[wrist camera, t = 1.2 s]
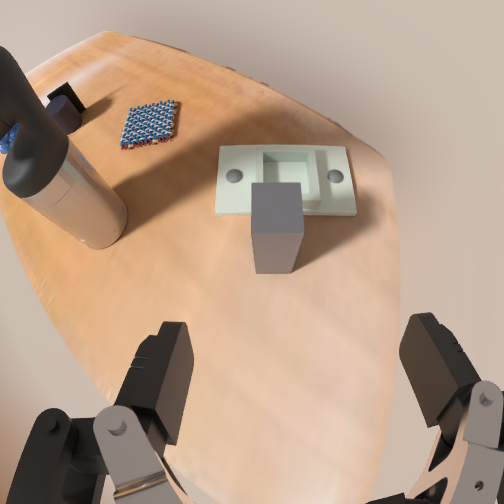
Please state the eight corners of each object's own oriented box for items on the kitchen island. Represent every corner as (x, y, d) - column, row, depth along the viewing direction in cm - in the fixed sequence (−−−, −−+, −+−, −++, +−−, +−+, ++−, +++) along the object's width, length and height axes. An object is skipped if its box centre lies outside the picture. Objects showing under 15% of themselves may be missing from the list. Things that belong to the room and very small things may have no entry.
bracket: (215, 216, 40) (211, 204, 37) (220, 149, 44) (217, 135, 41) (355, 215, 39) (362, 204, 36) (343, 150, 43) (348, 136, 40)
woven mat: (120, 154, 46) (116, 147, 44) (130, 114, 49) (127, 108, 47) (173, 144, 46) (170, 137, 44) (179, 104, 49) (176, 97, 47)
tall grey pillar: (256, 273, 37) (251, 233, 24) (256, 236, 39) (251, 181, 26) (290, 273, 37) (304, 233, 24) (289, 236, 39) (300, 181, 26)
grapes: (19, 175, 47) (-11, 148, 35) (14, 162, 48) (-13, 135, 37) (53, 139, 49) (26, 107, 37) (47, 128, 50) (22, 98, 39)
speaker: (66, 115, 51) (47, 89, 41) (86, 108, 51) (68, 80, 41) (60, 140, 49) (38, 114, 39) (81, 132, 49) (59, 104, 39)
